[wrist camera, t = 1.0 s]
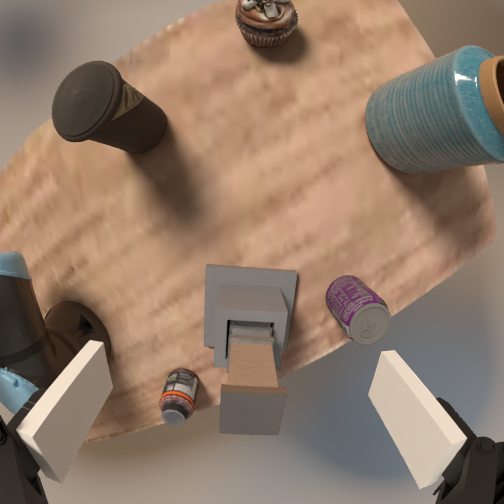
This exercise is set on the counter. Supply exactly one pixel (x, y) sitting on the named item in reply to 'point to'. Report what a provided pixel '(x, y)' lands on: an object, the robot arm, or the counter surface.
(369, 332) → the beverage can
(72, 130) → the container
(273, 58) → the counter surface
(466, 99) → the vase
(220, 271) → the stand
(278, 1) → the cupcake
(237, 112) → the counter surface
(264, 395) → the column
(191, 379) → the supplement bottle
